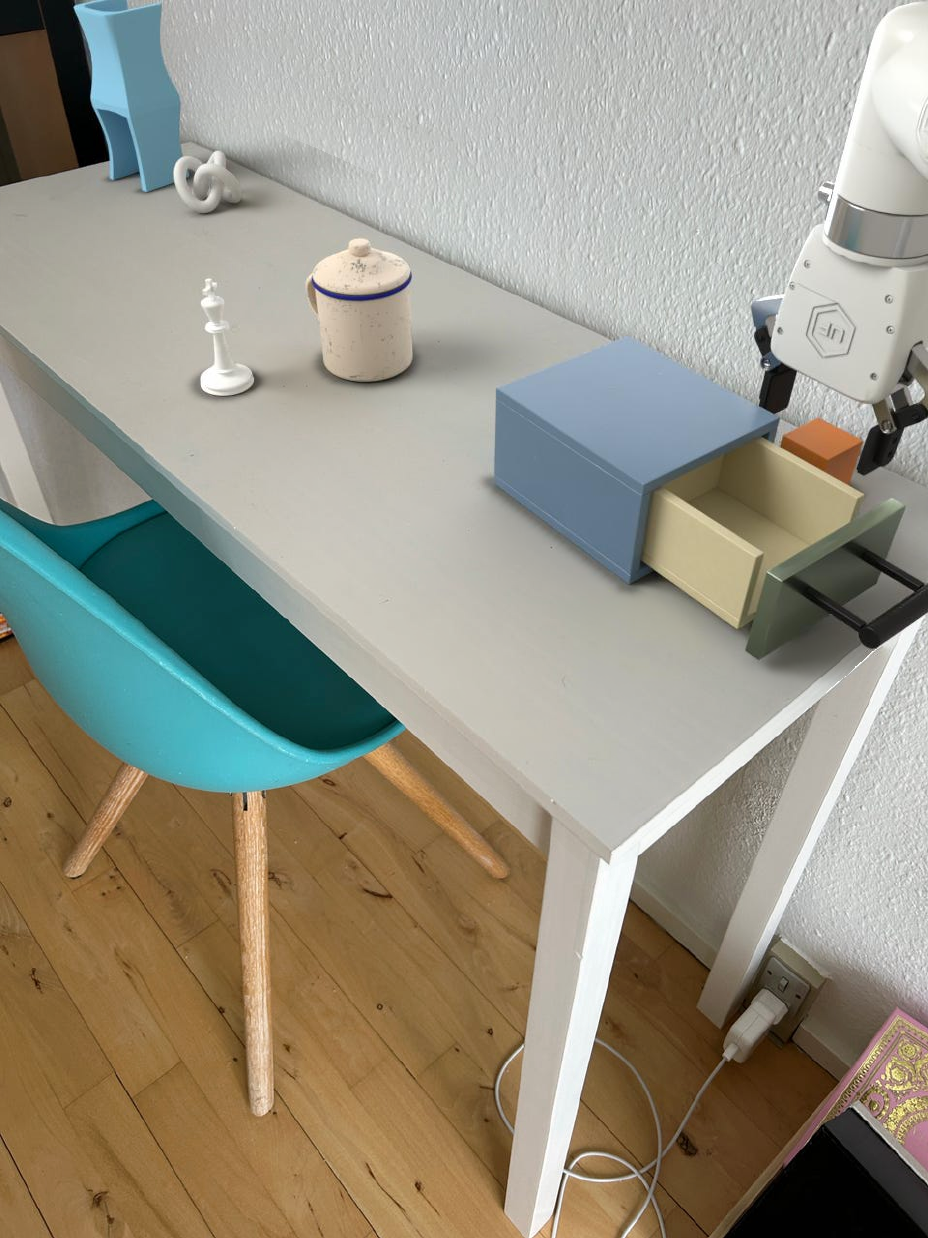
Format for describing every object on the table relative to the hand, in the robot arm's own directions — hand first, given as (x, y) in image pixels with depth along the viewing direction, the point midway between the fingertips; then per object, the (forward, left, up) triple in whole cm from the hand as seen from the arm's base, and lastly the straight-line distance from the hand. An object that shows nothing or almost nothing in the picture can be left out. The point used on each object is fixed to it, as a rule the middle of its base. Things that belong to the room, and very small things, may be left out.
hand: (819, 439), depth 77 cm
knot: (+74, -42, -4) cm, 85 cm away
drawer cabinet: (+14, +7, -4) cm, 16 cm away
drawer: (+2, +15, -3) cm, 16 cm away
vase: (+87, -49, -4) cm, 100 cm away
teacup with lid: (+43, -10, -4) cm, 44 cm away
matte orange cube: (0, 0, -4) cm, 4 cm away
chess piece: (+53, -2, -4) cm, 53 cm away
